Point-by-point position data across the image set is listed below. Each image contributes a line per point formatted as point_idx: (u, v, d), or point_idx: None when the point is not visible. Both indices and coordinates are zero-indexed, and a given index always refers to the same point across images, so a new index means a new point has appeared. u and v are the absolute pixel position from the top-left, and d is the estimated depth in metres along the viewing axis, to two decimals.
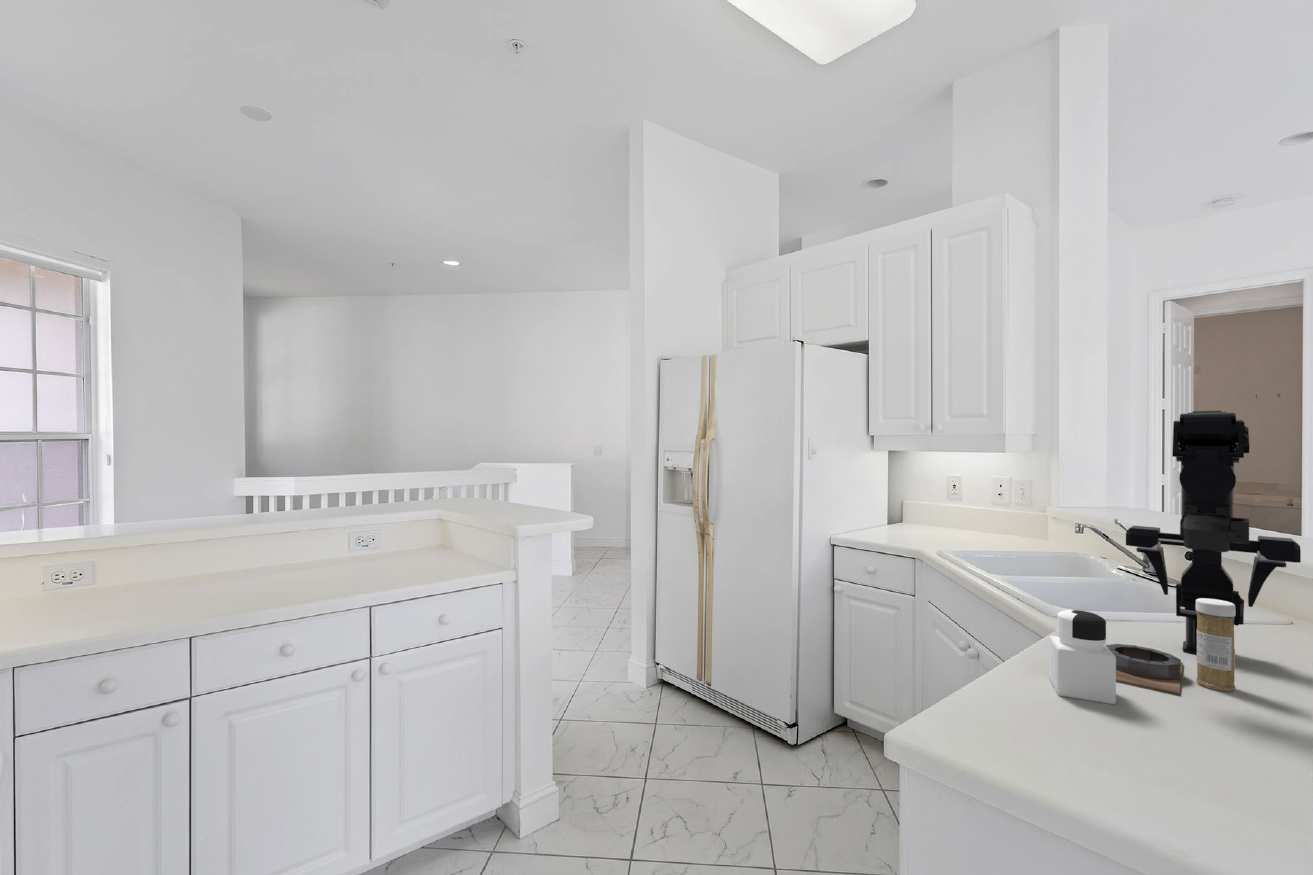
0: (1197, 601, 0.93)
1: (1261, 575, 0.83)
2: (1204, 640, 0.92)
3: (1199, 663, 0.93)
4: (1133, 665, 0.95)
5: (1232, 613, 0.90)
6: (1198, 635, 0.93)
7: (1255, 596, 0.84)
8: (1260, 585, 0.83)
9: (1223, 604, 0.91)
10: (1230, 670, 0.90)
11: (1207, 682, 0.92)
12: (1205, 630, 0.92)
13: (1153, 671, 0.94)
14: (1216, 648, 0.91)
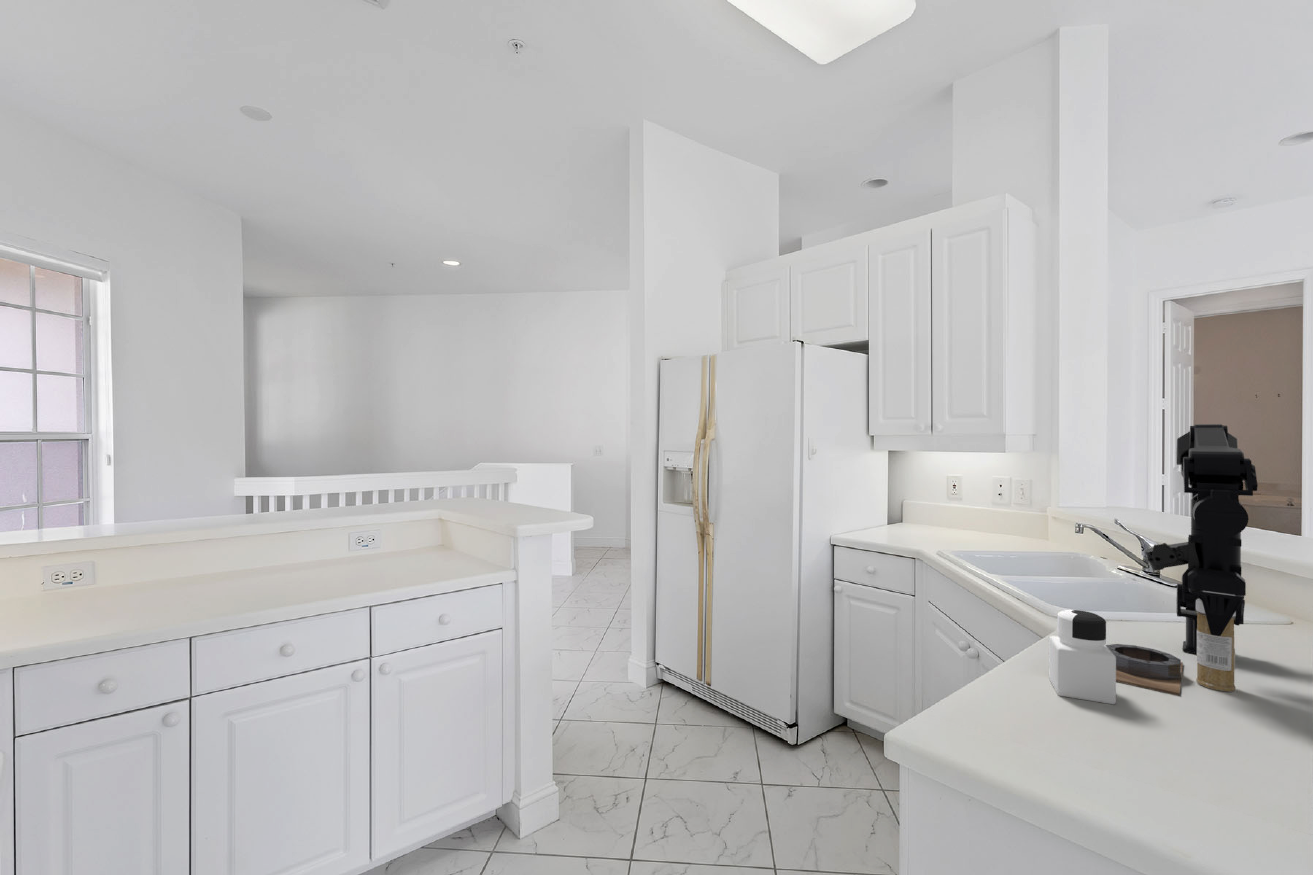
0: (1197, 601, 0.93)
1: (1202, 602, 0.90)
2: (1204, 640, 0.92)
3: (1199, 663, 0.93)
4: (1133, 665, 0.95)
5: None
6: (1198, 635, 0.93)
7: (1208, 623, 0.90)
8: (1205, 612, 0.89)
9: None
10: (1230, 670, 0.90)
11: (1207, 682, 0.92)
12: (1205, 630, 0.92)
13: (1153, 671, 0.94)
14: (1216, 648, 0.91)
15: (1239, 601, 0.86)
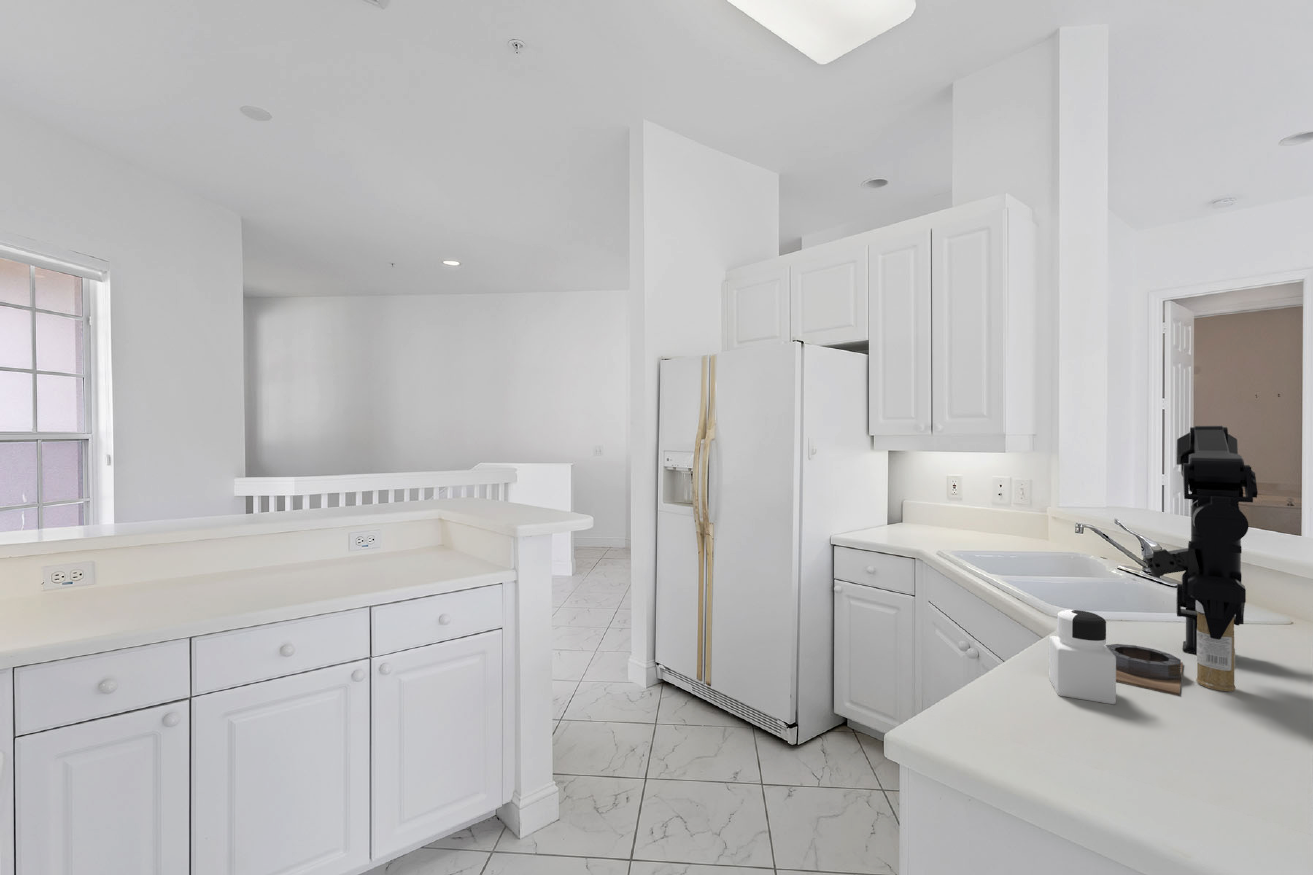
0: (1197, 601, 0.93)
1: None
2: (1204, 640, 0.92)
3: (1199, 663, 0.93)
4: (1133, 665, 0.95)
5: None
6: (1198, 635, 0.93)
7: (1208, 627, 0.91)
8: (1205, 616, 0.91)
9: None
10: (1230, 670, 0.90)
11: (1207, 682, 0.92)
12: (1205, 630, 0.92)
13: (1153, 671, 0.94)
14: (1216, 648, 0.91)
15: (1238, 605, 0.88)
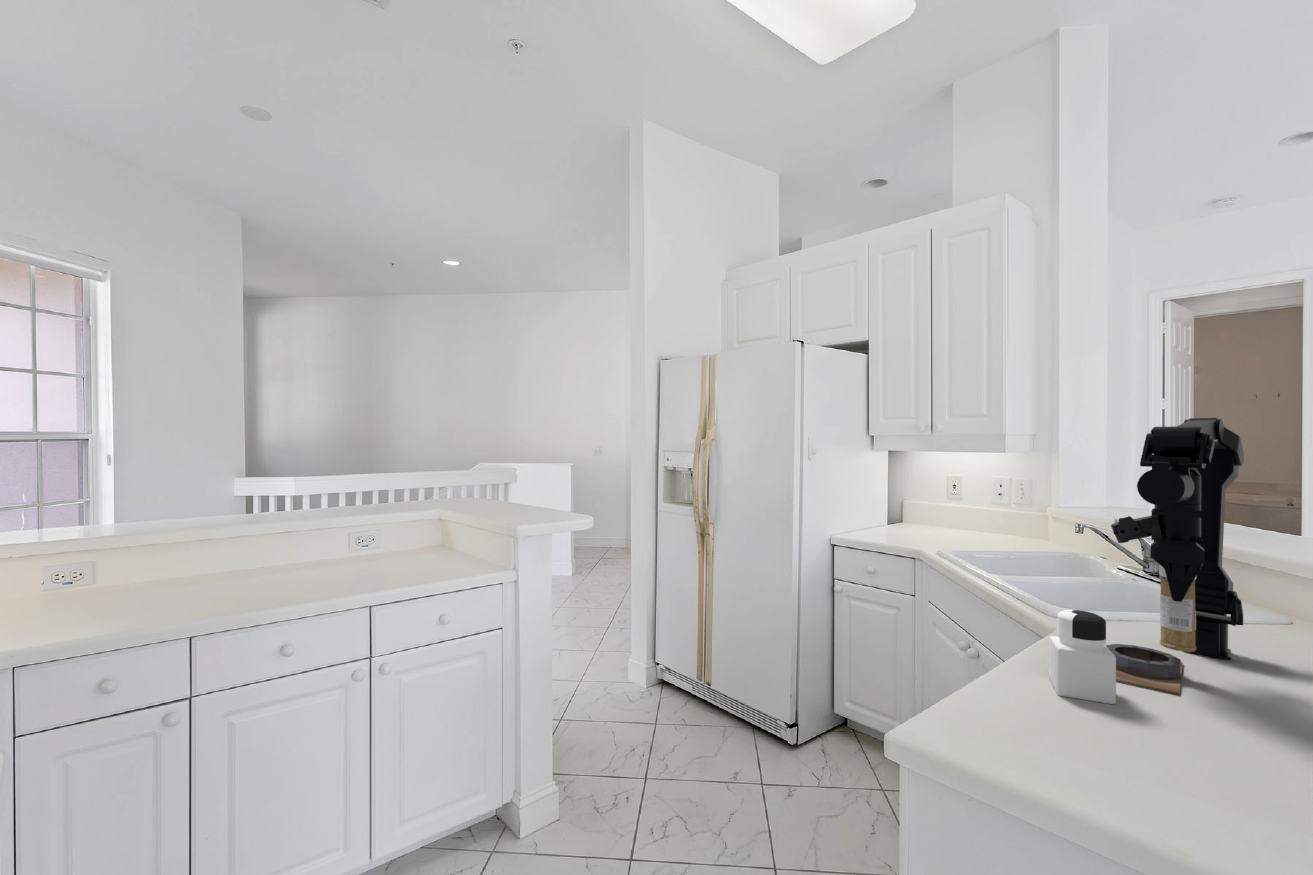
0: (1160, 566, 0.97)
1: (1165, 570, 0.94)
2: (1166, 603, 0.95)
3: (1162, 625, 0.96)
4: (1133, 665, 0.95)
5: None
6: (1161, 599, 0.96)
7: (1170, 590, 0.94)
8: (1167, 579, 0.94)
9: None
10: (1191, 631, 0.94)
11: (1169, 643, 0.95)
12: (1167, 593, 0.95)
13: (1153, 671, 0.94)
14: (1178, 610, 0.94)
15: (1198, 567, 0.91)
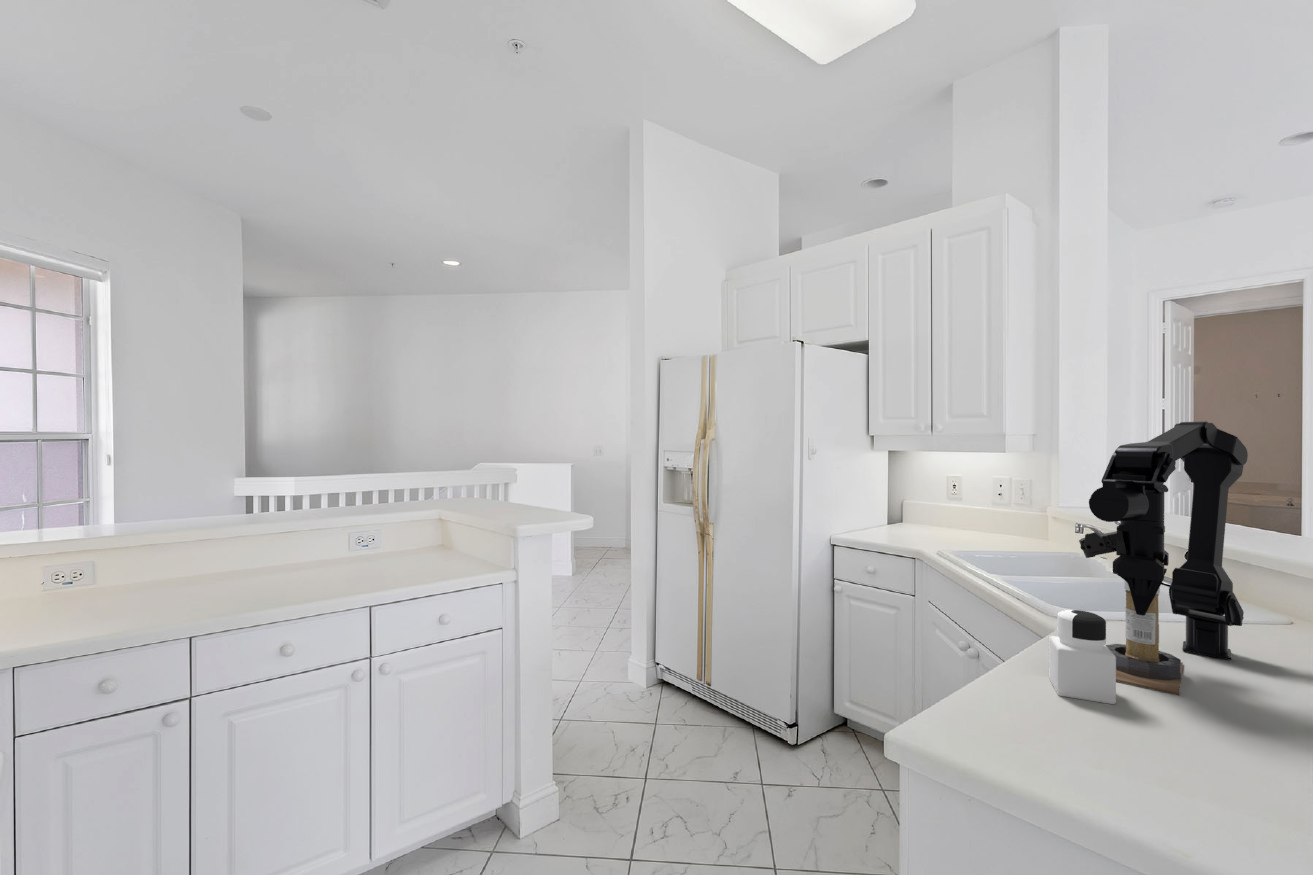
0: None
1: None
2: (1131, 617, 0.98)
3: (1127, 638, 0.99)
4: (1133, 665, 0.95)
5: None
6: (1126, 612, 0.99)
7: None
8: (1131, 594, 0.97)
9: None
10: (1154, 644, 0.97)
11: (1134, 656, 0.98)
12: (1131, 607, 0.98)
13: (1153, 671, 0.94)
14: (1141, 623, 0.97)
15: (1159, 583, 0.94)
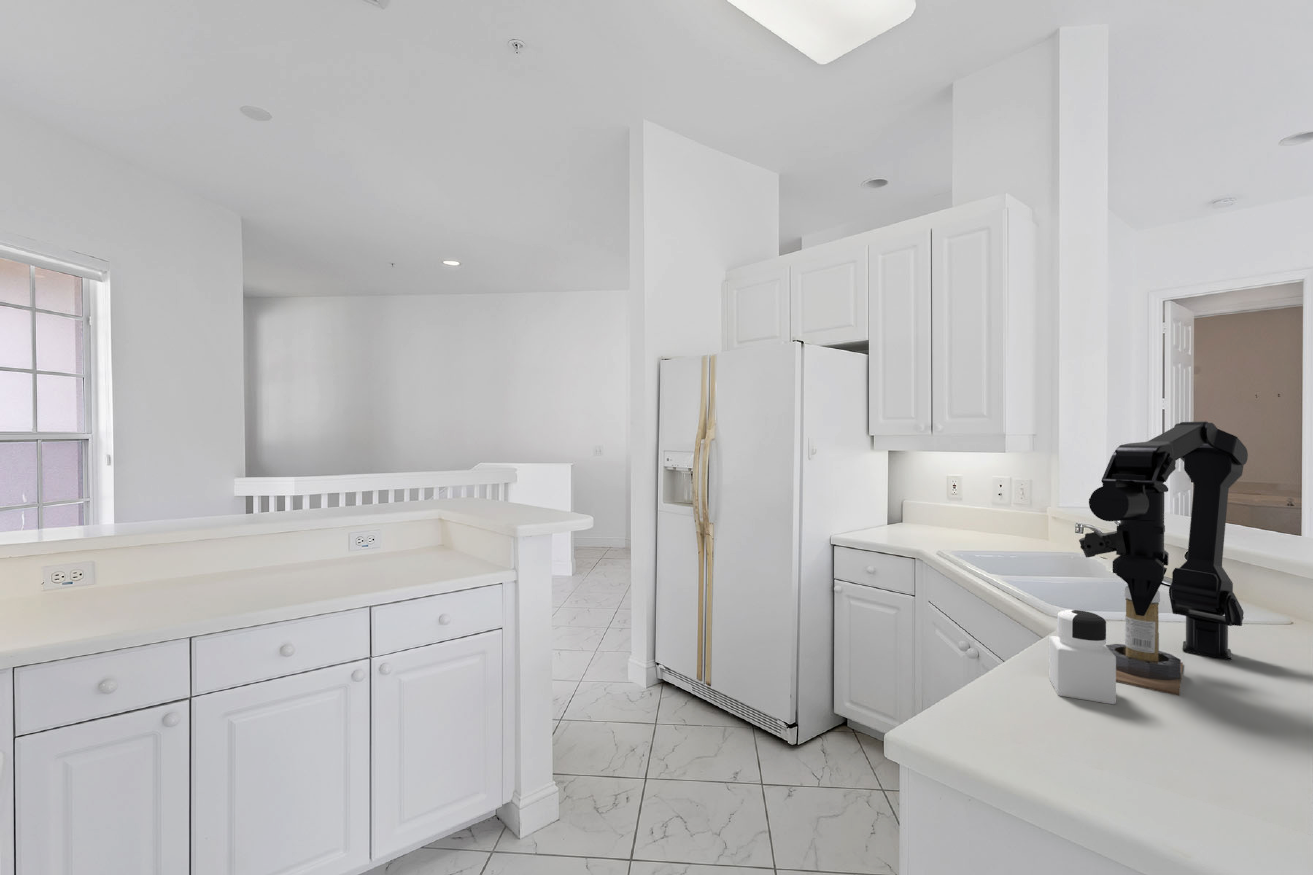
0: (1125, 588, 1.00)
1: (1128, 585, 0.97)
2: (1130, 625, 0.98)
3: (1126, 646, 0.99)
4: (1133, 665, 0.95)
5: (1156, 599, 0.97)
6: (1126, 620, 0.99)
7: (1133, 604, 0.97)
8: (1130, 594, 0.97)
9: None
10: (1153, 652, 0.97)
11: None
12: (1131, 615, 0.98)
13: (1153, 671, 0.94)
14: (1141, 632, 0.97)
15: (1159, 583, 0.93)
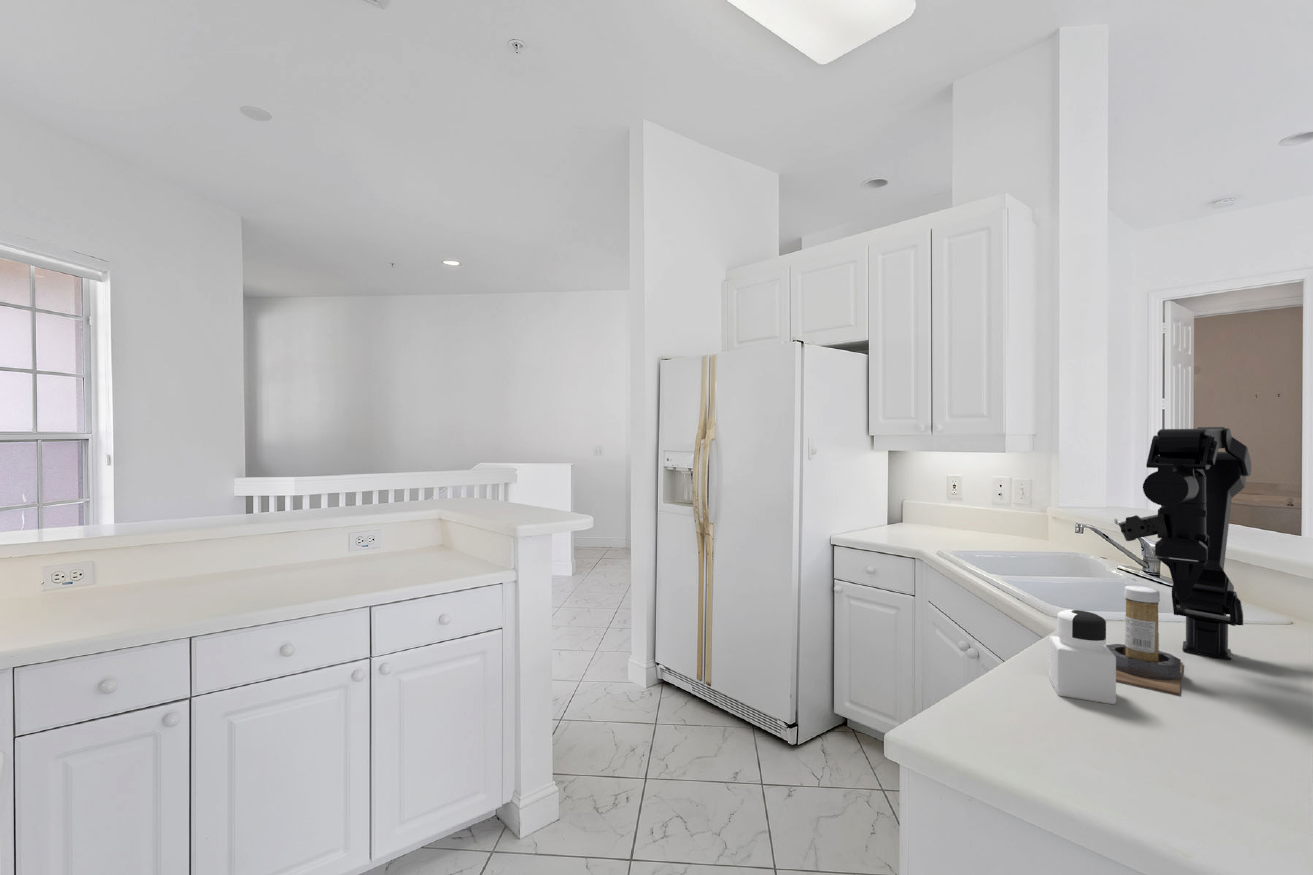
0: (1125, 588, 1.00)
1: None
2: (1130, 625, 0.98)
3: (1126, 646, 0.99)
4: (1133, 665, 0.95)
5: (1156, 599, 0.97)
6: (1126, 620, 0.99)
7: (1175, 588, 0.97)
8: (1172, 578, 0.97)
9: (1147, 591, 0.97)
10: (1153, 652, 0.97)
11: None
12: (1131, 615, 0.98)
13: (1153, 671, 0.94)
14: (1141, 632, 0.97)
15: (1202, 566, 0.93)
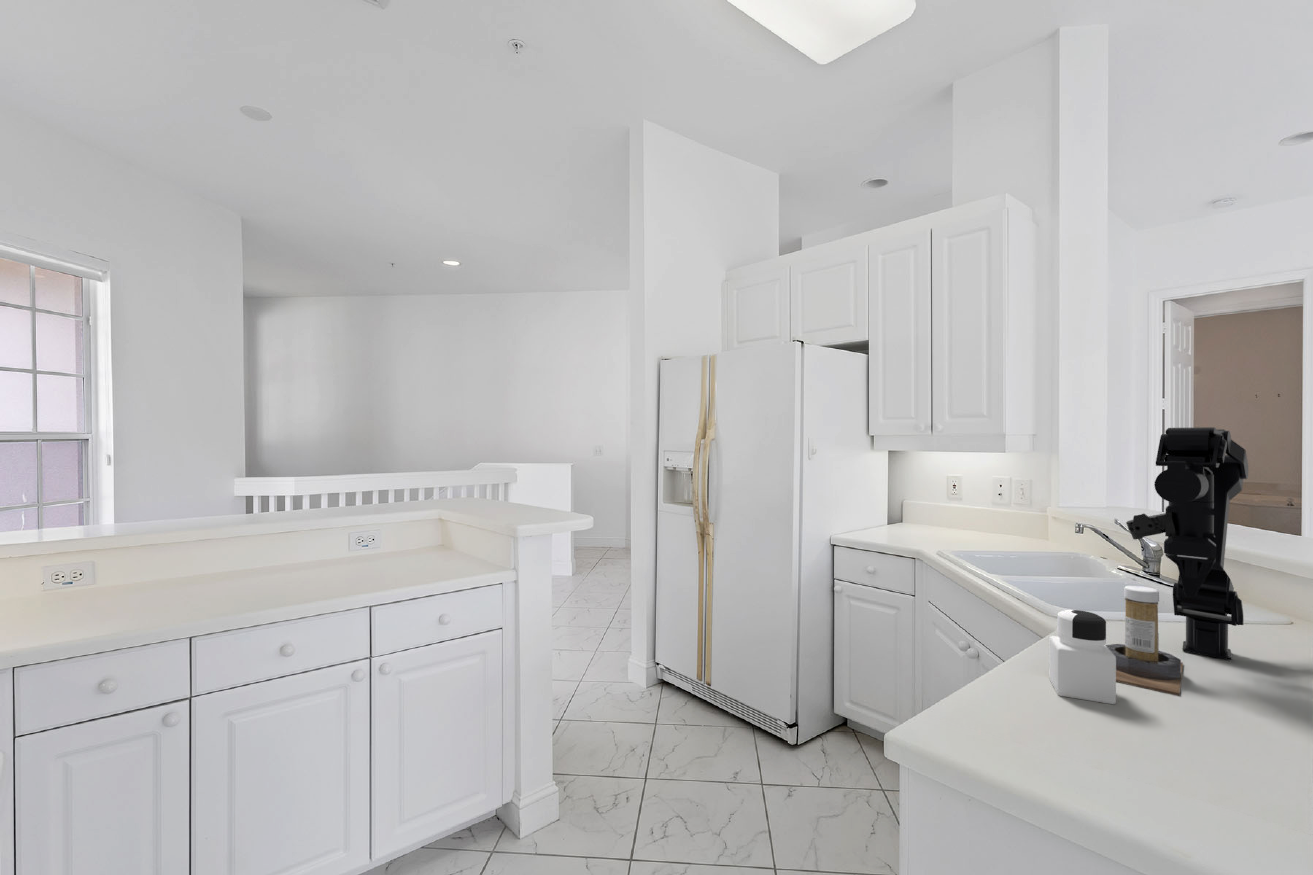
0: (1125, 588, 1.00)
1: None
2: (1130, 625, 0.98)
3: (1126, 646, 0.99)
4: (1133, 665, 0.95)
5: (1155, 599, 0.97)
6: (1126, 620, 1.00)
7: (1183, 586, 0.97)
8: (1180, 576, 0.97)
9: (1147, 591, 0.97)
10: (1153, 652, 0.97)
11: None
12: (1131, 615, 0.98)
13: (1153, 671, 0.94)
14: (1140, 632, 0.97)
15: (1211, 564, 0.93)
